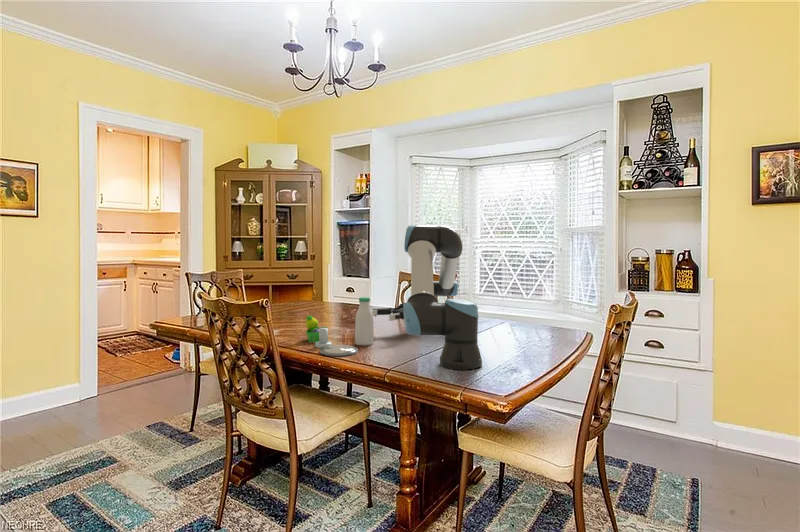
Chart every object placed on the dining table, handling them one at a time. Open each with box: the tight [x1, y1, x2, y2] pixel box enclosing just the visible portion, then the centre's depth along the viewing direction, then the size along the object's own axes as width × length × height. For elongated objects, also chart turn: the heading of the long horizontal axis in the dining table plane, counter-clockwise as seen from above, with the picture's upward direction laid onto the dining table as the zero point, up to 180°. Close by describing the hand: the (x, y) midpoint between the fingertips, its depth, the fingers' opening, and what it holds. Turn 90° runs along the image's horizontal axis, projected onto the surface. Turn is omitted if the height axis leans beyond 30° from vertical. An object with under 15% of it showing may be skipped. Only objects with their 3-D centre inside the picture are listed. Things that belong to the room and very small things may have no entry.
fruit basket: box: [305, 315, 328, 342], centre depth 200 cm, size 11×9×11 cm
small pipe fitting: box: [314, 328, 333, 349], centre depth 189 cm, size 7×7×8 cm
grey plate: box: [319, 344, 359, 358], centre depth 180 cm, size 15×15×2 cm
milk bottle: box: [354, 296, 374, 346], centre depth 194 cm, size 8×8×20 cm
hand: (377, 316), depth 201 cm, fingers open, 13 cm apart
